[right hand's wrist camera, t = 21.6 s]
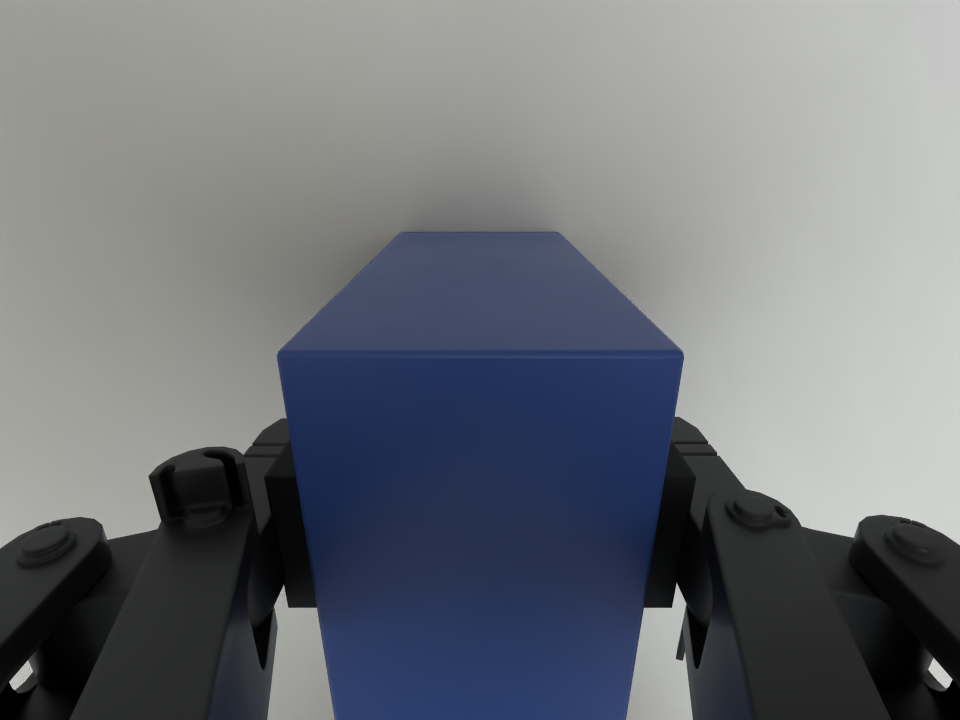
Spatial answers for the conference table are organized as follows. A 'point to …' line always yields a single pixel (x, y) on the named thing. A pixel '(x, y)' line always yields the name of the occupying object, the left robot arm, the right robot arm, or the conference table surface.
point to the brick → (480, 478)
